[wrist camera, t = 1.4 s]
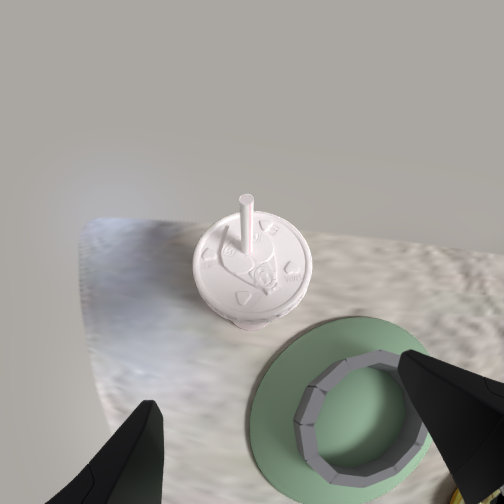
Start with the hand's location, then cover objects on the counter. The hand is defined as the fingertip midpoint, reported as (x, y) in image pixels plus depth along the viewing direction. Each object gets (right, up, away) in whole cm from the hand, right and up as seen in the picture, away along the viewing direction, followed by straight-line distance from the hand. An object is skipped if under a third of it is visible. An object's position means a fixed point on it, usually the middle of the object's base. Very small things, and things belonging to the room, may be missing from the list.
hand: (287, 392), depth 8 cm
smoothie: (-1, 0, +15) cm, 15 cm away
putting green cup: (+8, -9, +10) cm, 16 cm away
